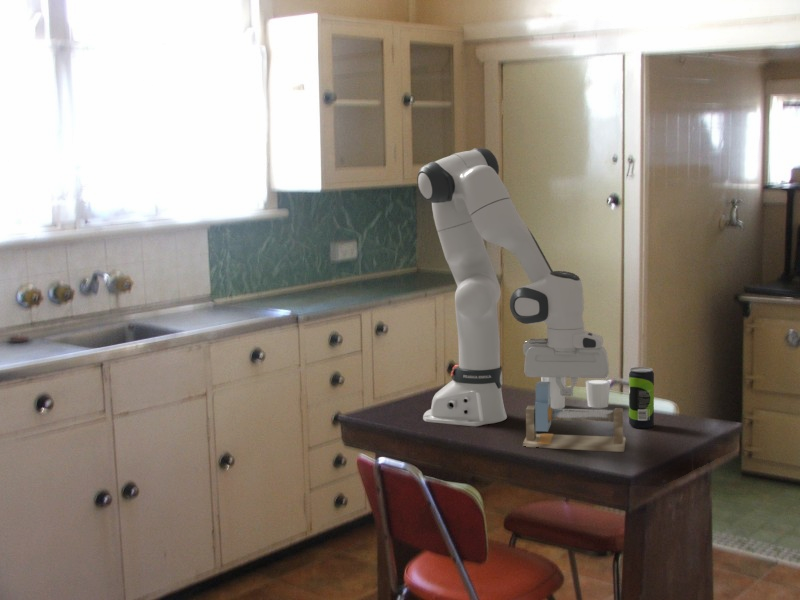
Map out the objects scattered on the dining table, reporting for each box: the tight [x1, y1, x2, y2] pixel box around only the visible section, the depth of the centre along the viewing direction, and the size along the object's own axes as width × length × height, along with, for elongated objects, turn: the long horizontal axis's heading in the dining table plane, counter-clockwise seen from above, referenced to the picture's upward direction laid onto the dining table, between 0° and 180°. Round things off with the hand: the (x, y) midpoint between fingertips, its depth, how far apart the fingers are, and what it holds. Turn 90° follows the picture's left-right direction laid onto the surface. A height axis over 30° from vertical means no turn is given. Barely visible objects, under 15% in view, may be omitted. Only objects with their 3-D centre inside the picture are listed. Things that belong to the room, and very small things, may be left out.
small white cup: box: [585, 379, 611, 409], centre depth 299 cm, size 7×7×7 cm
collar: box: [534, 380, 552, 433], centre depth 260 cm, size 3×7×11 cm, turn 166°
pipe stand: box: [522, 405, 626, 453], centre depth 259 cm, size 24×9×9 cm, turn 76°
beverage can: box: [628, 366, 655, 430], centre depth 275 cm, size 6×6×15 cm
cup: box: [540, 377, 567, 409], centre depth 297 cm, size 8×8×14 cm
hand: (566, 395), depth 258 cm, fingers closed
